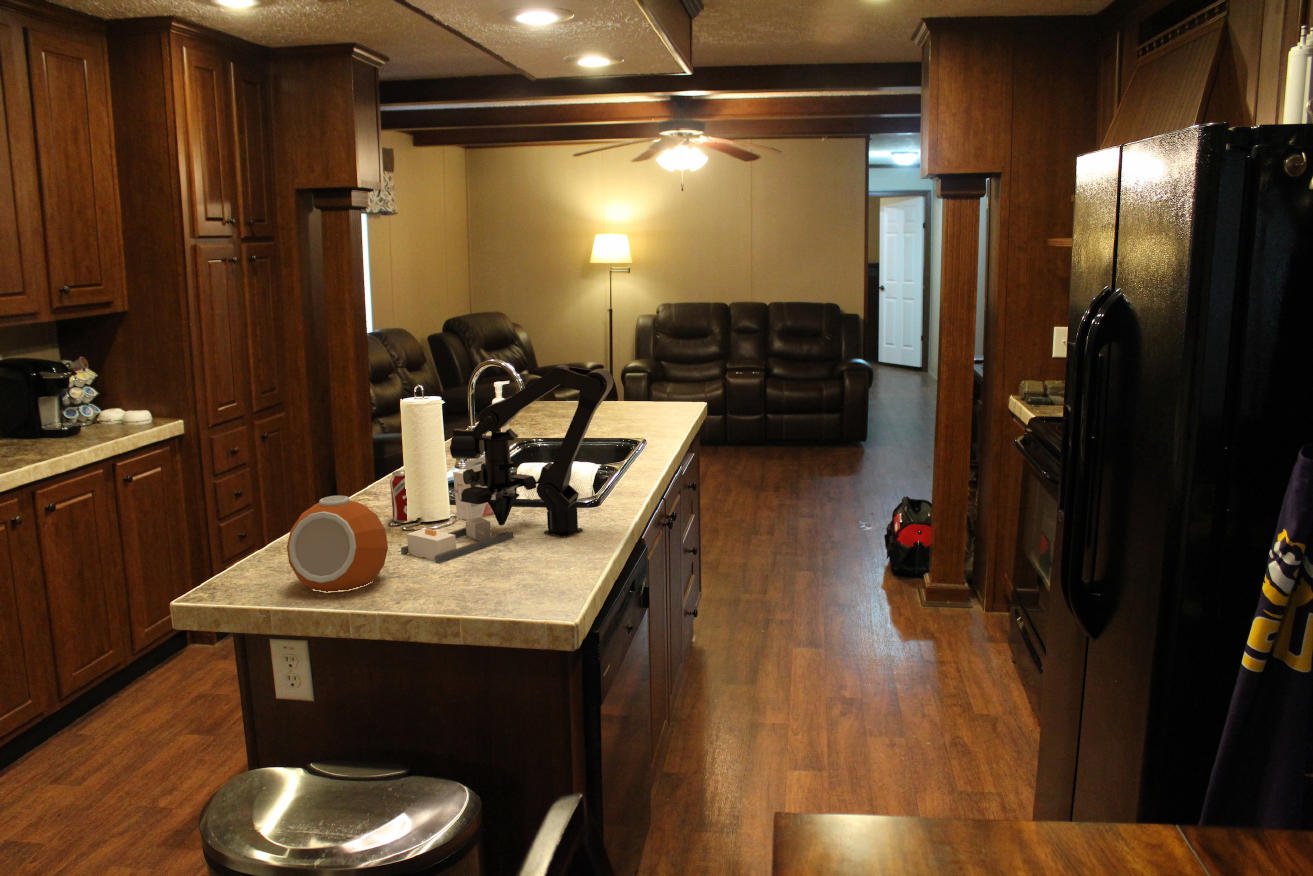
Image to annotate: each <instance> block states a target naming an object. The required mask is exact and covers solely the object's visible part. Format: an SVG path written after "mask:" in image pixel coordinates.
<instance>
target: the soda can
mask: <svg viewBox="0 0 1313 876" xmlns="http://www.w3.org/2000/svg"><path fill="white" fill-rule="evenodd" d="M405 470H406V469H401V470H395V471H393V472H391V475H392V476H391V478H390V480H389V484H390V499H391V510H392V520H393V521H395V522H397V521H398V522H404V521H407V496H406V489H405ZM398 522H397V523H398Z"/></svg>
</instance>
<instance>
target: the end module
mask: <svg viewBox="0 0 1313 876" xmlns="http://www.w3.org/2000/svg"><path fill="white" fill-rule="evenodd" d="M448 533H449V532H444V531H437V530H435V529H431V528H421V529H419V530H415V531H412V532H409V533H406V543H407V546H408V553H409V554H408V555H410V554H413V555H412V556H414V555H417V556H416V557H419V556H420V557H419V558H423V557H425V558H424V559H426V560H431V561H435V556H436V555H439V554H442V553H445V552H448V551H451V550H454V549H457V542H456V541H457V540H456V539H457V538H455V535H453V534H448Z"/></svg>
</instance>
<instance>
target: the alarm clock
mask: <svg viewBox="0 0 1313 876" xmlns="http://www.w3.org/2000/svg"><path fill="white" fill-rule="evenodd" d="M286 544H287V545H286V550H287V558H288V563H289V565H290V567H291V569H292V571H293V573H294V574H295V576H296V578H297V579H298V580H299V581H300V582H301V583H302V584H303V585H305V586H307V587H308V588H309V589H310V588H311V589H315V590H321V591H326V592H328V591H338V590H349V589H353V588H356V587H360V586H364V585H366V584H368V583H370V582H372V581H373V582H374V581H375V580H376V578H377V576H378V575H379V574H380V572H381V571H382V570H383V567H384V566H385V562H386V558H387V555H388V554H387V553H388V550H389V544H388V539H387V531H386V528H385V527H384V525H383V523H382V521H381V519H380V518H379V516H378V515H377V514H376V513H375V512H374V511H372V510H371V509H370V508H369V507H368V506H366V505H364V504H363V503H360V502H358V501H355V500H351V499H350V498H349V496H346V495H330V496H325V497H323V498H321V499H319V500H318V502H317V503H315V504H314V505H312V506H311V507H310V508H308V509H307V510H305V511H304V512H302V513H301V514H300V516H299V517H298V519H297V520H296V521H295V523H294V525H293V526H292V528H291V529H290V532H289V535H288V540H287V543H286ZM373 582H372V583H373ZM311 589H310V590H311Z"/></svg>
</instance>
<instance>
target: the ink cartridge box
mask: <svg viewBox="0 0 1313 876" xmlns="http://www.w3.org/2000/svg"><path fill="white" fill-rule="evenodd" d="M476 463H481V464H477V465H474V464H476ZM483 463H485V455H484V456H480V457H479V458H478V459H467V460H466V461H464V465H465V468H463V469H458V470H455V471H452V473H453V486H454V497H455V499H454V501H455V508H456V509H455V511H456V518H457V519H461V520H468V519H472V518H477V517H480V518H483V517H485V516H489V515H492V514H494V512H493V510H492V508H491V507H490V505H489V503H483V504H472V503H467V502H462V500H461V492H462V491H463V490H464V489H467V488H470V487H471V486H470V484H467V485H466V484H465V483H464V480H463V471H466V470H469V469H473V470H474V472H476V471H480V470H481V465H482V464H483ZM476 487H482V488H487V486H480V485H477V486H476Z"/></svg>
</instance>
